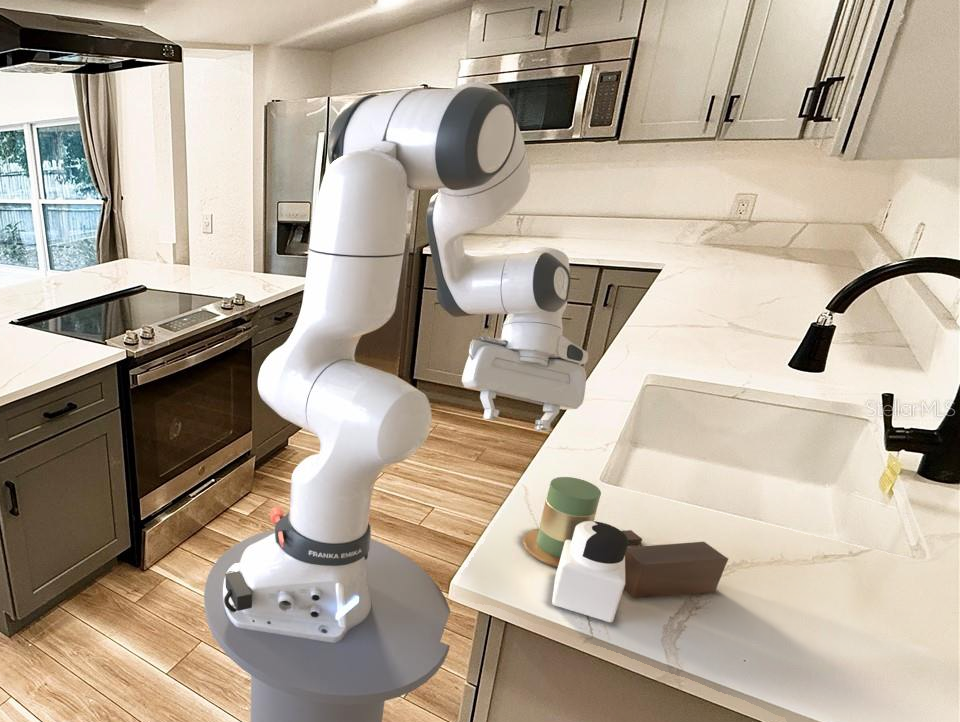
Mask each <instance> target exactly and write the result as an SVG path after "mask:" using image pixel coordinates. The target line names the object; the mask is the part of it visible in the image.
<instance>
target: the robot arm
mask: <svg viewBox="0 0 960 722" xmlns="http://www.w3.org/2000/svg"><path fill="white" fill-rule="evenodd" d="M526 147H527V146H526V144H525V141H524V137H523V134H522V131H521V130H520V126H519V124H518V122H517V115H516V112H515V108H514V107H513V105H512V104H511V102H510V100H508V99H507V97H506V96H505V95H504V94H503V93H501V92H500V91H499V90H498V89H497V88H496V87H495V86H493V85H491V84H488V83H486V82H480V81H474V82H473V81H472V82H466V83H463V84H459V85H457V86H455V87H453V88H424V87H416V88H408V89H402V90H396V91H391V92H387V93H383V94H376V93H373V94H368V95H365V96H362V97H359V98H356V99H354V100H352V101H350V102H348V103H346V104H345V105H344V106H343V107H342V108H341V110H340V111H339V112H338V114H337V115H336V117H335V119H334V121H333V124H332V125H331V127H330V131H329V135H328V141H327V157H328V163H329V166H328V167H327V169H326V170H325V172H324V175H323V176H322V177H323V178H322V181H321V184H320V189H319V191H318V195H317V199H316V203H315V208H314V212H313V217H312V223H311V229H310V235H309V245H308V254H307V263H306V272H305V280H304V287H303V295H302V302H301V307H300V311H299V314H298V317H297V320H296V323H295V325H294V327H293V329H292V331H291V333H290V335H289V337H288V338H287V339H286V341H285V342H284V343H283V344H282V345H280V346H278V347H277V348H275V349H274V350H273V351H271V352H270V353H269V355H268V356H267V357H266V358H265V359H264V361H263V363H262V364H261V366H260V369H259V371H258V376H257V391H258V395H259V396H260V399H261V400H262V401H263V402H264V403H265V404H266V405H267V406H268V407H269V408H270V409H272V411H273V412H275V413H276V414H277V415H278V416H280V417H281V418H282V419H284V420H286V421H287V422H290V423H292V424H293V425H296V426H297V427H300V428H301V429H304V430H306V431H307V432H310V433H312V434H314V435H315V436H316V437H317V438H318V441H319V444H320V445H319V453H315V454H311V455H309V456H307V457H305V458H304V459H302V460H301V461H300V462H299V463H298V464H297V465H296V466H295V468H294V469H293V471H292V474H291V477H290V496H289V511H288V512H287V514H285V515H284V511H283V509H282V508H281V507H278V506H276V507H273V508H271V509H270V511H269V516H270V521H271V523H272V524H274V525H275V526H274V530H275V533H273V534H271V535H269V536H267V537H265V538H263V539H261V540H259V541H257V542H255V543H253V544H251V545H249V546H248V547H247V548H246V549H245V551H244V552H243V554H242V557H241V559H240V563H236V564H233V565H232V566H231V567H230V568H229V570H228V571H227V573H226V574H225V579H224V584H223V603H224V608H225V611H226V613H227V615H228V617H229V619H230V620H231V622H232V623H233V624H234V625H235V626H236V627H238V628H243V629H249V630H255V631H262V632H268V633H274V634H281V635H287V636H293V637H300V638H306V639H312V640H319V641H325V642H332V643H336V642H339V641H340V640H341V639H342V638H343V637H344V636H345V634H346V632H347V631H348V630H349V629H350V628H352V627H354V626H356V625H358V624H359V623H361V622H362V621H363V620H364V619H365V618H366V617H367V616H368V614H369V612H370V609H371V598H370V594H369V590H368V585H367V578H366V560H367V558H368V551H369V550H370V541H371V539H372V530H371V524H370V523H369V522H370V521H369V519H370V512H371V503H372V498H373V492H374V487H375V484H376V481H377V480H378V478H379V476H380V474H381V473H382V472H383V471H384V470H386V468H388V467H390V466H392V465H395V464H399V463H402V462H404V461H406V460H408V459H410V458H411V457H412V456H413V455H415V454H416V453H417V452H418V451H419V450H420V449H421V448H422V447H423V445H424V444H425V443H426V441H427V439H428V437H429V434H430V431H431V427H432V421H433V413H432V408H431V404H430V400H429V398H428V397H427V395H425V393H424V392H422V391H421V390H419V389H418V388H416V387H415V386H413V385H412V384H410V383H409V382H407V381H405V380H404V379H402V378H401V377H399V376H397V375H395V374H393V373H390V372H387V371H384V370H381V369H379V368H375V367H372V366H370V365H367V364H364V363H361V362H358V361H356V357H355V356H356V355H355V353H356V349H357V347H358V344H359V341H360V340H361V338H362V336H363V335H366V334H370V333H371V332H372V333H373V332H375V331H377V330H379V329H381V328H382V327H383V326H384V325H385V324H387V323H388V322H389V321H390V319H392V317H393V315H394V313H395V312H396V311H395V310H396V308H397V300H398V294H399V288H400V282H401V281H400V280H401V274H402V267H403V260H404V254H405V248H406V241H407V231H408V230H407V229H408V214H409V195H410V193H411V192H412V191H431V190H437V191H438V192H436V193H435V194H433V195H432V197H430V200H429V203H428V206H427V210H426V217H425V224H426V225H425V226H426V233H427V234H426V235H427V240H428V244H429V249H430V255H431V260H432V265H433V269H434V273H435V283H436V284H435V285H436V297H437V302H438V304H439V305H440V307H441V308H442V309H443V310H444V311H445V312H446V313H448V314H449V315H450V316H452V317H455V318H458V317H469V316H470V317H471V316H475V315H506V318H505V320H504V322H503V324H502V329H501V335H500V338H498V337H497V338H496V337H490V336H488V335H480V336H477V337H475V338H473V339H472V341H471V342H470V344H469V350H468V357H467V360H466V363H465V366H464V369H463V373H462V377H461V383H462V385H463V387H464V388H465V389H468V390H471V391H478V392H480V395H479V399H480V401H481V404H482V407H483V409H484V411H483V412H484V413H483V419H484V420H487V421H493V422H496V421H498V419H499V414H500V410H499V409H496V407H495V403H494V400H493V399H496V397H497V396H500V397H504V398H509V399H513V400H517V401H522V402H526V403H527V402H528V403H532V404H536V405H541V406H542V412H543V413H544V414H543V416H542V417H541V418H540V419H535V420H534V426H533V428H534V430H535V431H539V432H543V433H547V432H549V431H550V429H551V423H552V422H553V420H554V419H555V418H556V417H557V416H558V415H559V413H560V410H565V411H566V410H568V411H569V410H578V409H579V408H580V407H581V406H582V405H583V403H584V401H585V400H584V399H585V395H586V394H585V393H586V387H587V386H586V385H587V372H586V369H585V367H584V366H582V365H584V364H587V362H588V360H589V353H588V352H587V351H586V350H584V349H583V348H581V347H580V346H578V345H577V344H575V343H573V342H572V341H570V340H569V339H568V338H567V337H565V336H563V330H564V328H563V319H562V318H563V314H564V313H565V310H566V308H567V305H568V301H569V294H570V287H571V274H570V261H569V257H568V255H567V254H566V253H564V252H563V251H561V250H559V249H556V248H554V247H553V248H552V247H545V246H543V247H533V248H530V249H527V250H525V251H524V252H518V253H509V254H498V255H497V254H495V255H484V256H479V255H477V256H476V255H470V254H466V253H465V246H464V240H463V236H465V235H467V234H469V233H471V232H474V231H477V230H479V229H483V228H485V227H486V228H487V227H488V226H491V225H493V224H495V223H497V222H498V221H500V220H502V219H503V218H504V217H506V216H507V215H508V214H509V213H511V212H512V211H513V210H514V209H515V208H516V207H517V206H518V205H519V203H520V202H521V201H522V199H523V198H524V196H525V194H526V192H527V190H528V189H529V188H528V187H529V185H530V181H531V165H530V159H529V154H528V151H527V148H526ZM323 632H324V633H323Z"/></svg>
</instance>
